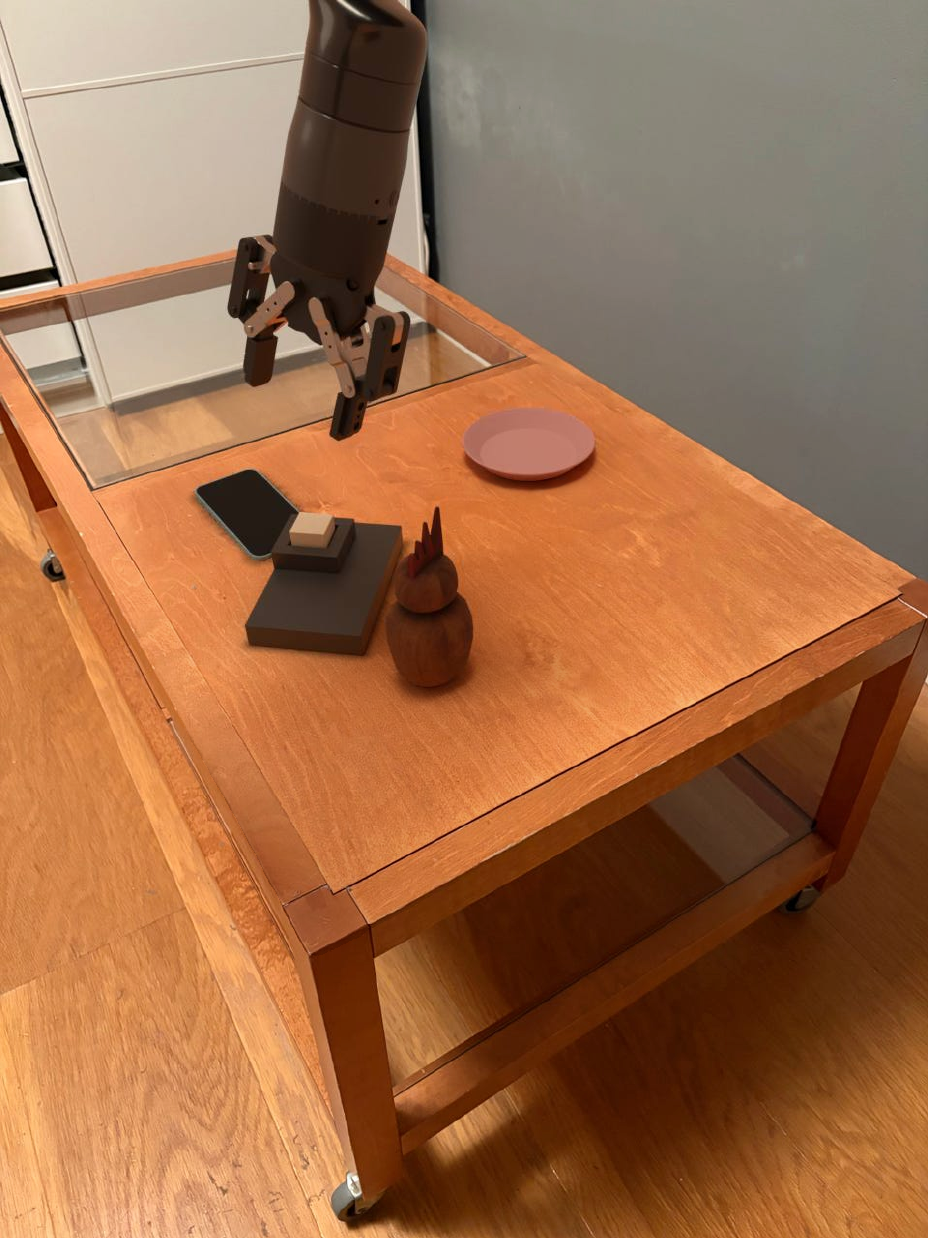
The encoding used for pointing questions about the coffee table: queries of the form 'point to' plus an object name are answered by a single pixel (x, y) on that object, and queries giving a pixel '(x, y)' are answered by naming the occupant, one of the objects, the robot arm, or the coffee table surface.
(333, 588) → the stacked tray base
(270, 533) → the smartphone
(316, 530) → the beige block
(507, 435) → the plate
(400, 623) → the wooden figurine
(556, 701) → the coffee table surface
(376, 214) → the robot arm
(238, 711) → the coffee table surface
